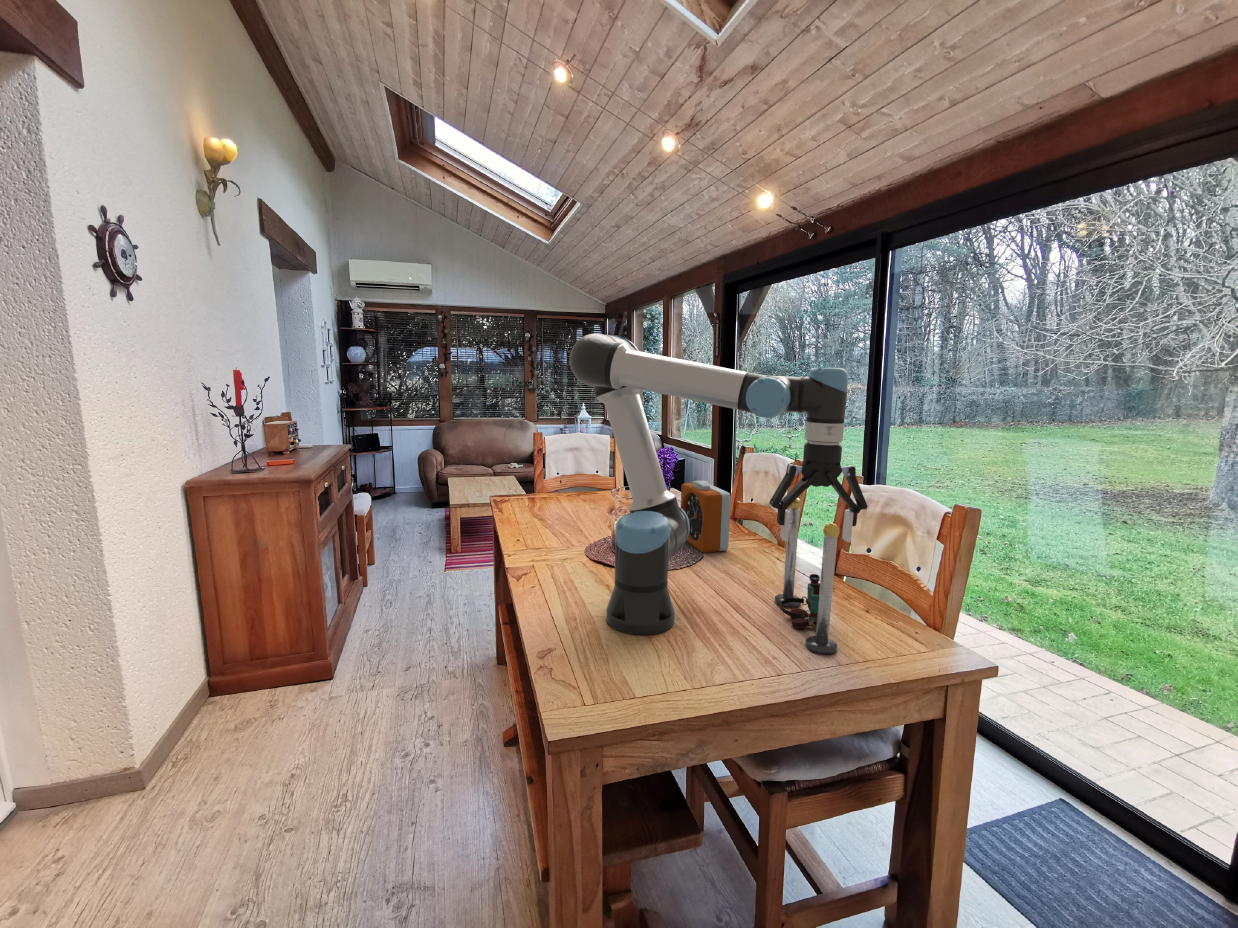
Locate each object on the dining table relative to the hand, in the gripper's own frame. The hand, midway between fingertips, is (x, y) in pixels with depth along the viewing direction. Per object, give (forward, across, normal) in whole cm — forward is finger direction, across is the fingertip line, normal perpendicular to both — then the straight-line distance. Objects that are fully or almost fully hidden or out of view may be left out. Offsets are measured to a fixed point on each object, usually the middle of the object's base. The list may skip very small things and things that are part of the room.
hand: (815, 540), depth 122 cm
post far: (+19, -1, +11) cm, 22 cm away
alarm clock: (+20, -14, +56) cm, 61 cm away
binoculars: (+19, -1, 0) cm, 19 cm away
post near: (+19, -1, -11) cm, 22 cm away
